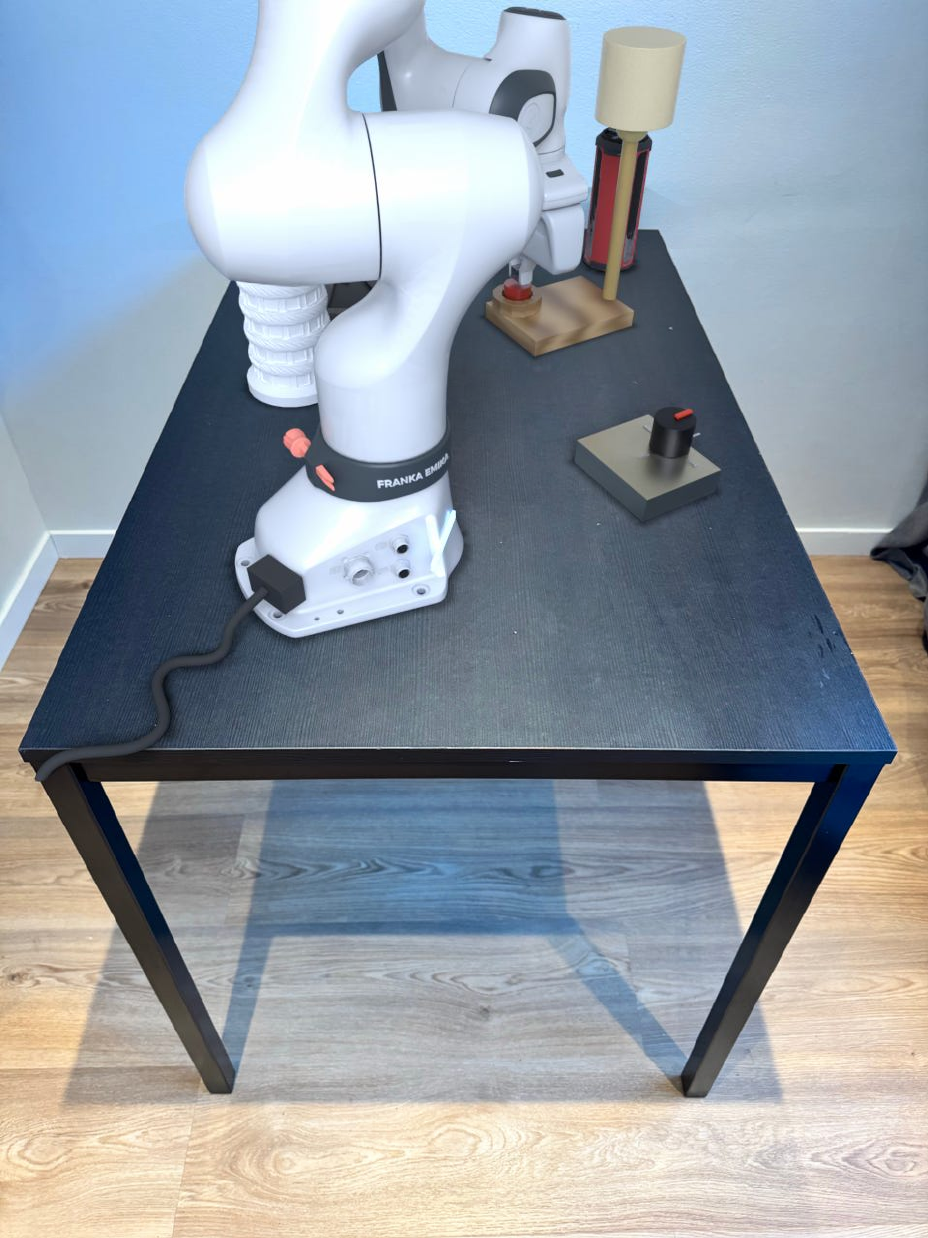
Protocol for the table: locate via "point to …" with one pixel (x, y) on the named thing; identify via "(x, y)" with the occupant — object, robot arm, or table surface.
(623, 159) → the lamp
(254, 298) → the decorative container
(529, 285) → the lamp switch
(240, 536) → the table surface
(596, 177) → the speaker
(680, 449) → the dimmer knob
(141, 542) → the table surface
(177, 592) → the table surface
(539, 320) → the lamp base
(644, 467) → the block
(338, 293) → the picture frame
